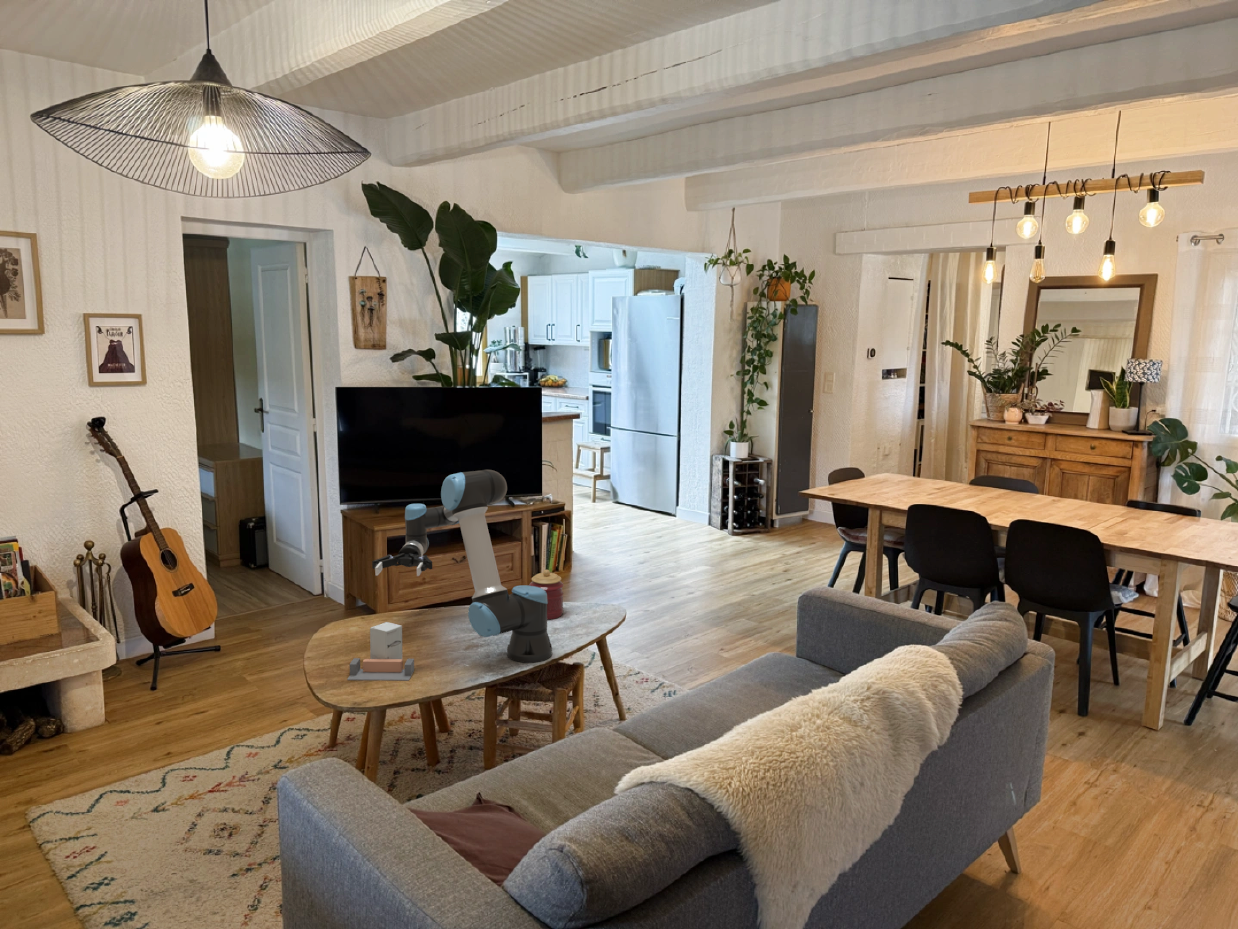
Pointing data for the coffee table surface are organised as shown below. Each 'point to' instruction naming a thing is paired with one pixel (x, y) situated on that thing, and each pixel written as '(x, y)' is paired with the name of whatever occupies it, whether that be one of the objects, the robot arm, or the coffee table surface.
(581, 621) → the coffee table surface
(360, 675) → the housing
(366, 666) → the pink eraser brick
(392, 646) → the supplement box
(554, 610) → the canister
